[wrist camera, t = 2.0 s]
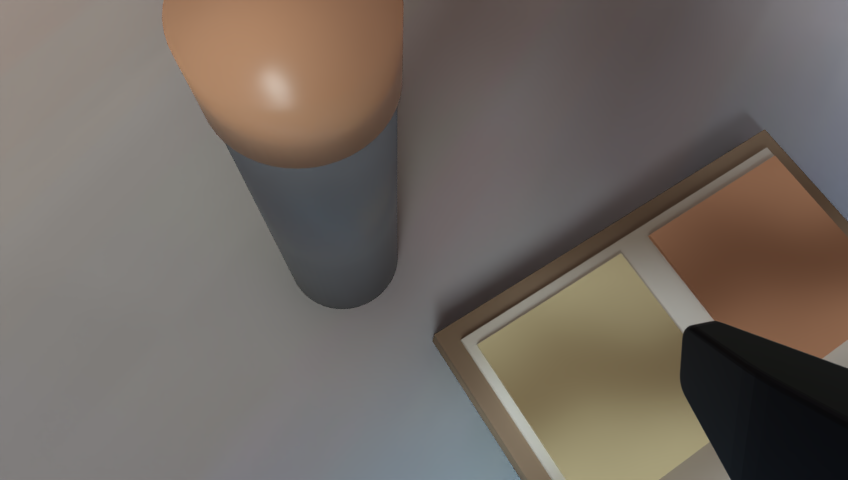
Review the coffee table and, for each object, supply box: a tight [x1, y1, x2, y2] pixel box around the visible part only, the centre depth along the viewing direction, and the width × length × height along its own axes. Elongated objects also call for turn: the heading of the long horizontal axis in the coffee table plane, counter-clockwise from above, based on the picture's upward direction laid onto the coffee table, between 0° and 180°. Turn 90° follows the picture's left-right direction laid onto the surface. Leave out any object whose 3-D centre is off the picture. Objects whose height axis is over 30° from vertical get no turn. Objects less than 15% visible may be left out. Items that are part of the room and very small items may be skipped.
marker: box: [162, 0, 403, 309], centre depth 16 cm, size 4×4×12 cm
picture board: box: [433, 130, 848, 480], centre depth 20 cm, size 16×14×1 cm
